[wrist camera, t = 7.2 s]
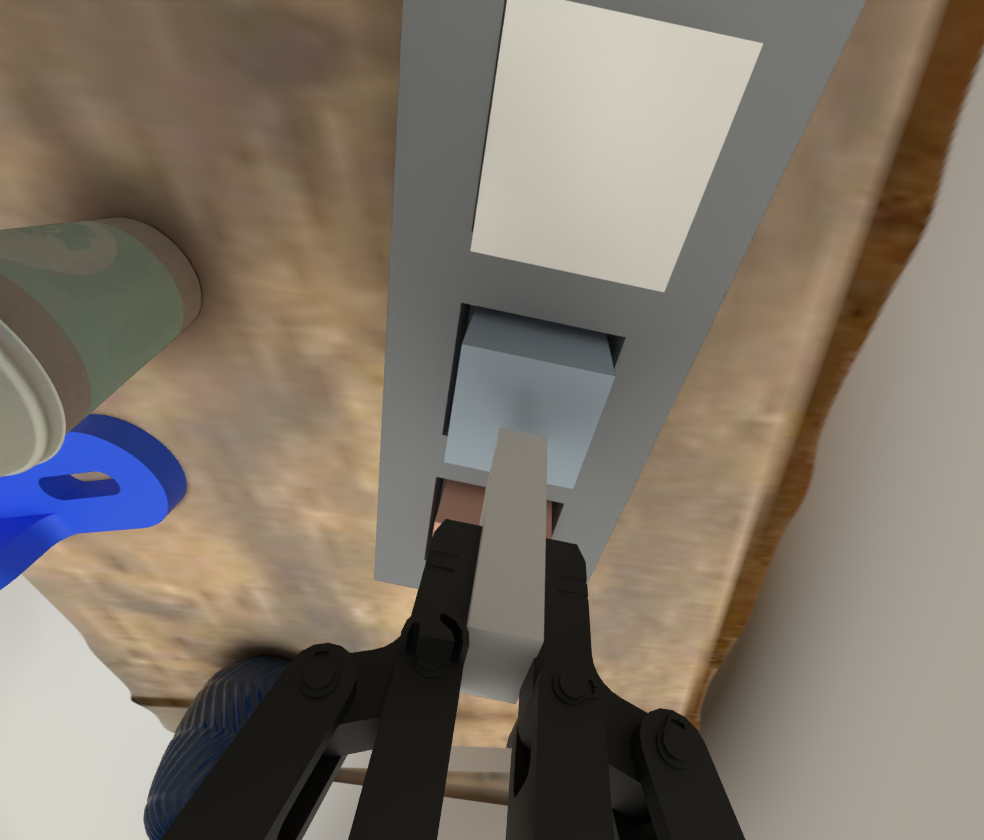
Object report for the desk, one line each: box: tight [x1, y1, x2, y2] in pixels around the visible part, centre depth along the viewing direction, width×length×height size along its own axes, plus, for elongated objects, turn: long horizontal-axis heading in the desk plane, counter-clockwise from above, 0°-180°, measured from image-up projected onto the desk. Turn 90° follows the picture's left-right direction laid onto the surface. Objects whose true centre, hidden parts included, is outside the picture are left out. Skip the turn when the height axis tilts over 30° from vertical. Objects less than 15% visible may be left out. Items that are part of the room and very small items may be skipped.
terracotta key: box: [433, 479, 552, 539], centre depth 25 cm, size 5×5×4 cm
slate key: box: [444, 306, 615, 489], centre depth 20 cm, size 5×5×4 cm
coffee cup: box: [0, 217, 202, 477], centre depth 19 cm, size 9×8×12 cm
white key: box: [470, 0, 763, 292], centre depth 13 cm, size 5×5×4 cm
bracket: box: [0, 414, 187, 590], centre depth 30 cm, size 18×8×9 cm, turn 102°
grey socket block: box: [374, 0, 866, 589], centre depth 22 cm, size 30×12×5 cm, turn 170°
